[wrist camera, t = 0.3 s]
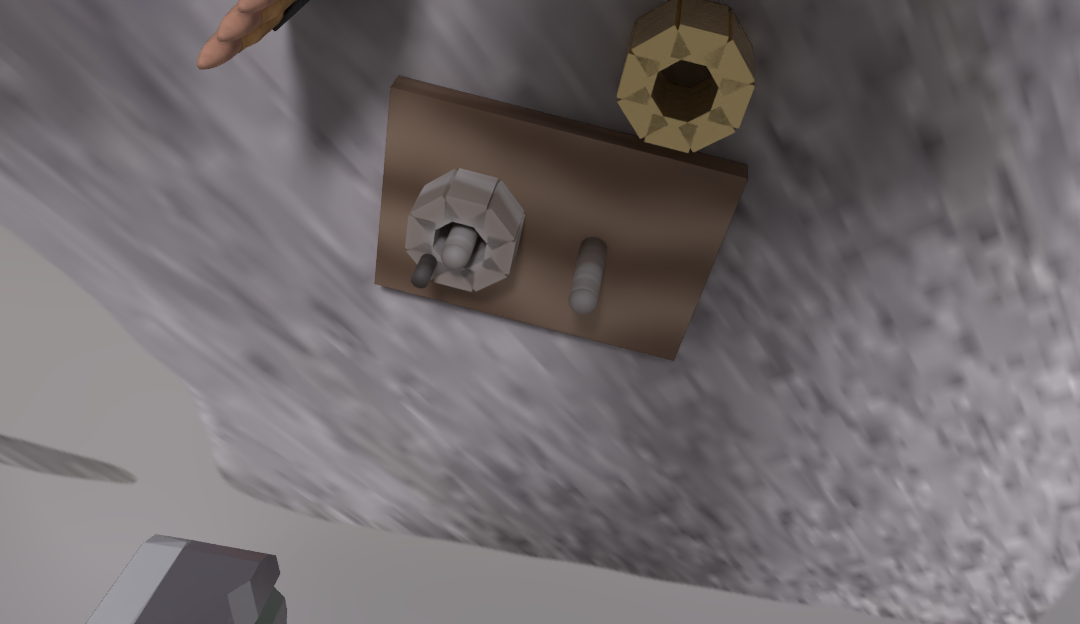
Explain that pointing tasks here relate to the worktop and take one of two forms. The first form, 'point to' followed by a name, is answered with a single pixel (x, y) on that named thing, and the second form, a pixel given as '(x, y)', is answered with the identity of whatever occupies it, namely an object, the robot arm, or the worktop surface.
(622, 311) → the gear board
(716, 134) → the octagonal hollow tube
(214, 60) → the ammunition clip
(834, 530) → the worktop surface
